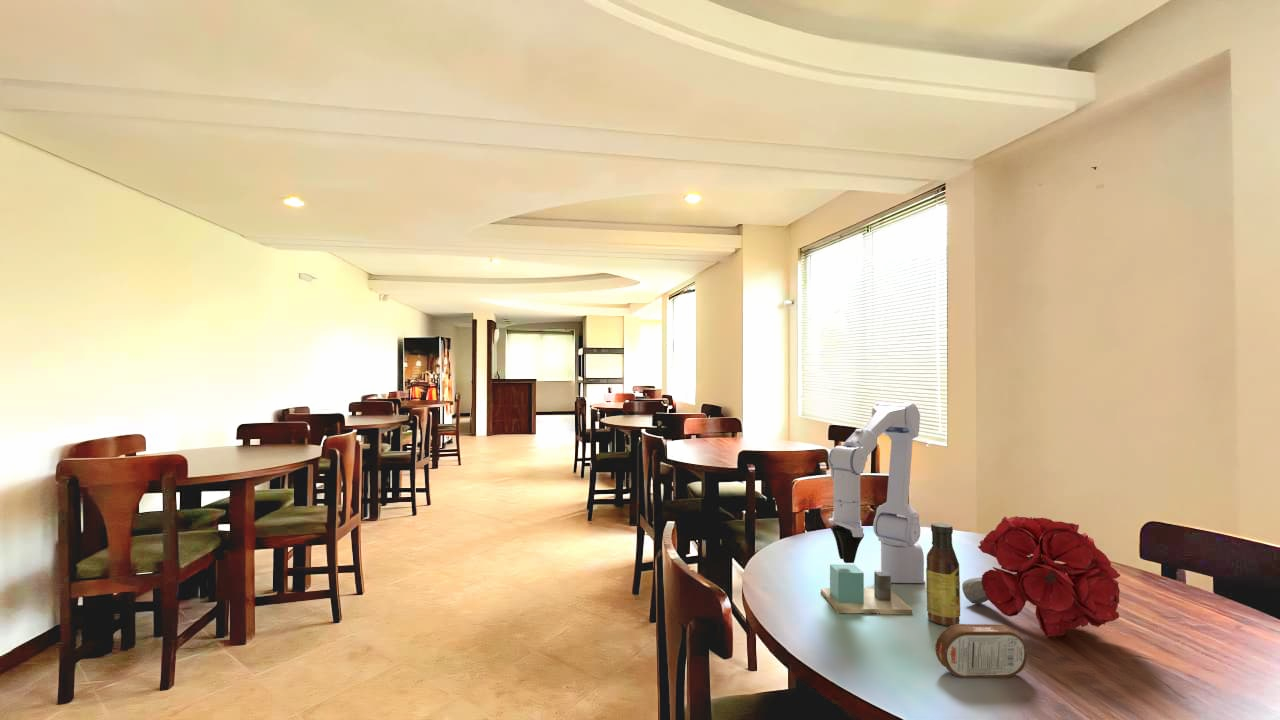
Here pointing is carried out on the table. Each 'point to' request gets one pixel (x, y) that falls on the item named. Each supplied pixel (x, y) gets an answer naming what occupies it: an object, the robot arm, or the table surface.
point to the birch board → (873, 599)
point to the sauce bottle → (942, 577)
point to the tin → (981, 651)
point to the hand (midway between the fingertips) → (846, 560)
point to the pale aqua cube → (846, 583)
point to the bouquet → (1047, 575)
